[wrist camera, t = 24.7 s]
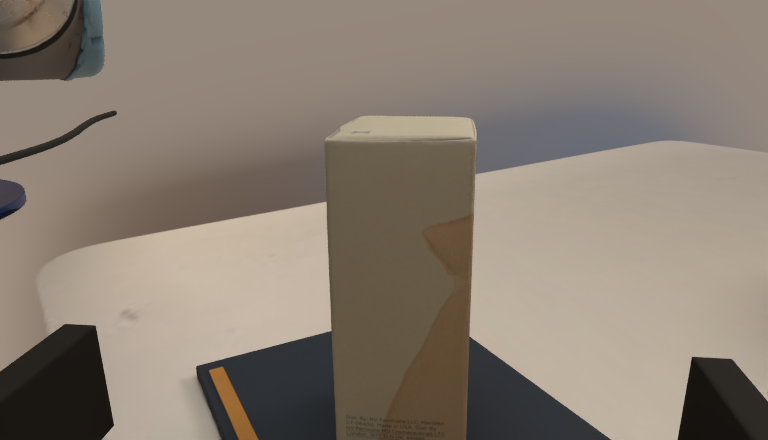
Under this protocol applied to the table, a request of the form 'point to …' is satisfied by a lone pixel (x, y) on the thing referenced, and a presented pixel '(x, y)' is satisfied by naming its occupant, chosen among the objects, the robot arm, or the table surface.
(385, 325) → the box
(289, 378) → the desk mat
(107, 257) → the table surface
